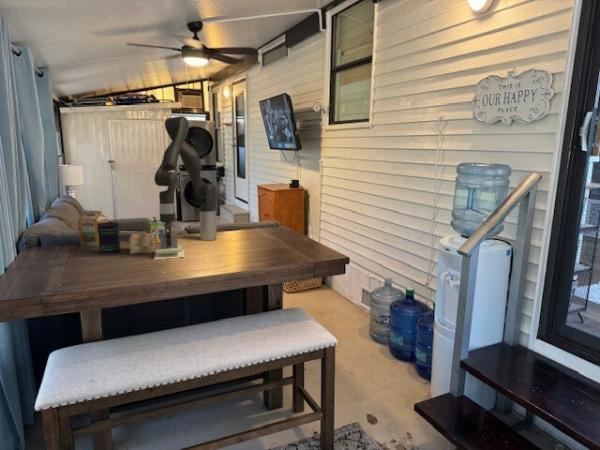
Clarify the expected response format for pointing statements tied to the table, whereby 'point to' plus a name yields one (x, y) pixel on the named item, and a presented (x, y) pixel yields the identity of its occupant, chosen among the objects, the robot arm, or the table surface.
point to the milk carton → (90, 227)
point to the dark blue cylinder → (108, 238)
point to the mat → (169, 255)
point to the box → (141, 243)
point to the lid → (163, 245)
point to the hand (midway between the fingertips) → (169, 245)
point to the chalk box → (156, 229)
